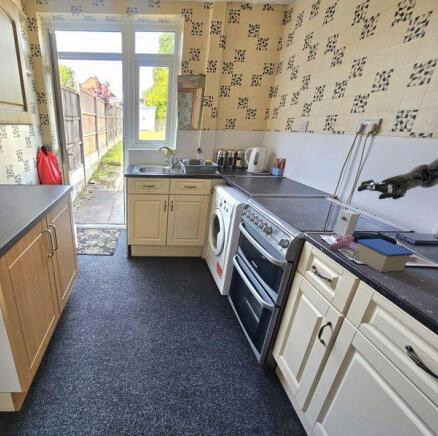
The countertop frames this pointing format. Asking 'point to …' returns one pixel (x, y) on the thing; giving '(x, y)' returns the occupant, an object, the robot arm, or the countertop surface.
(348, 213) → the white case
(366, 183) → the robot arm
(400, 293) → the countertop surface
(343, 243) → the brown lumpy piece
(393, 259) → the container
